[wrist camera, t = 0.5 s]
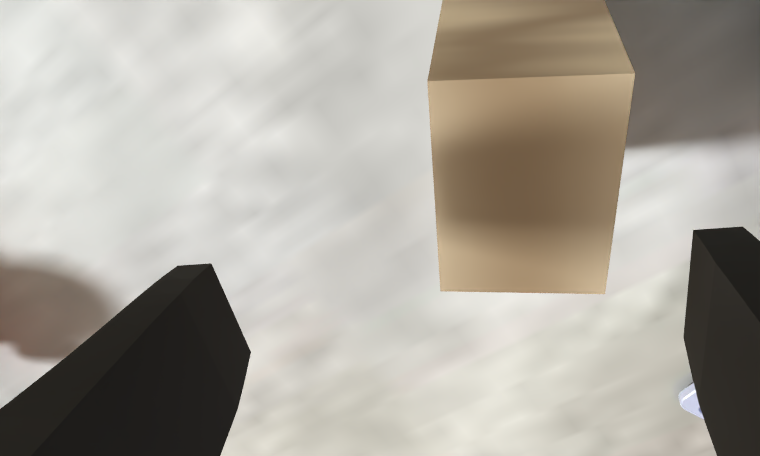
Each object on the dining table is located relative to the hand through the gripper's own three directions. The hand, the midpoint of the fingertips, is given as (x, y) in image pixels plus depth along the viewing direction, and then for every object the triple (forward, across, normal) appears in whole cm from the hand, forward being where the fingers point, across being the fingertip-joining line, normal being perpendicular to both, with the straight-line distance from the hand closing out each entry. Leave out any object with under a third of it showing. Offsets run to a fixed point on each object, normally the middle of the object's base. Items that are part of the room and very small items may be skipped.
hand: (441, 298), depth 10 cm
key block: (+9, -1, 0) cm, 10 cm away
